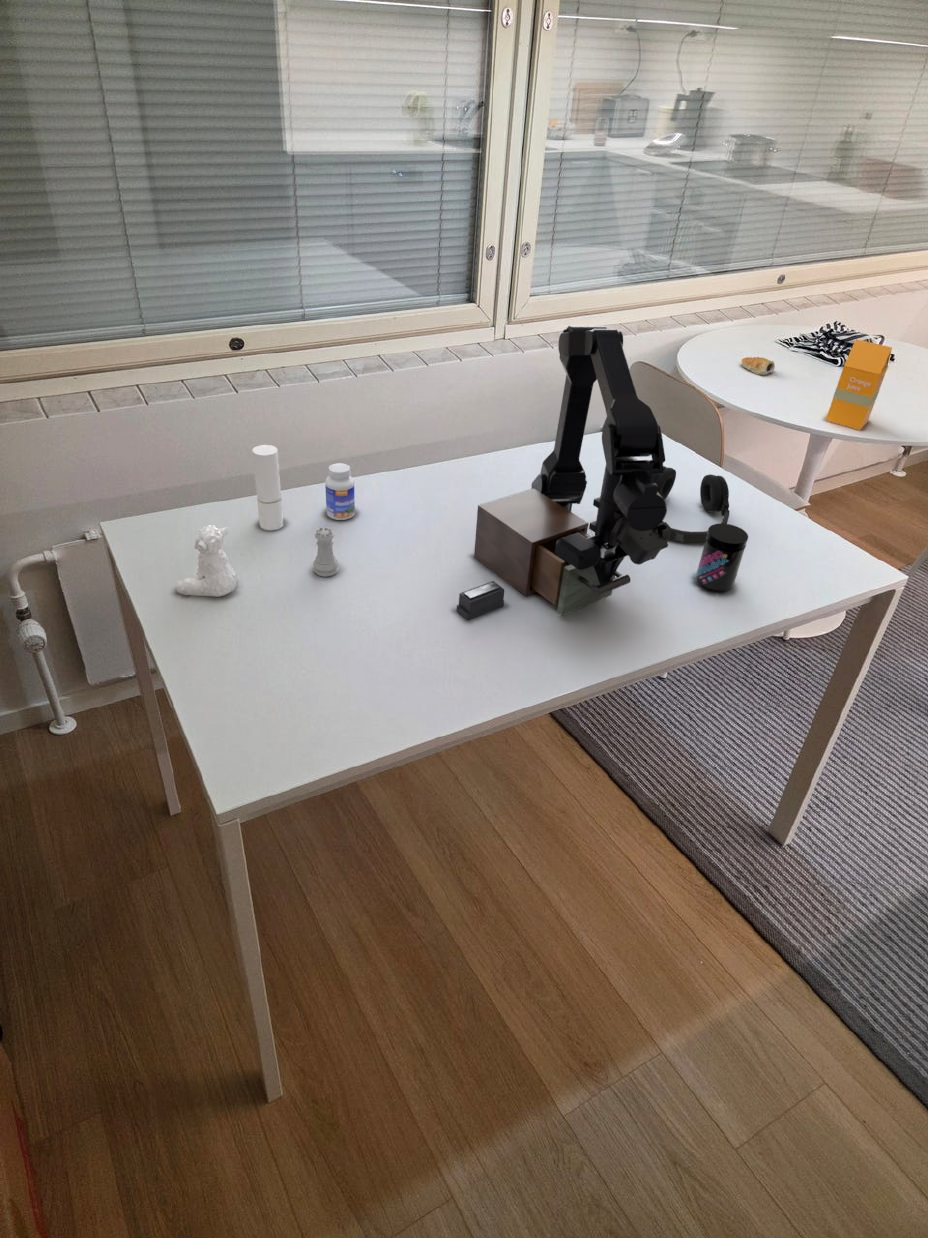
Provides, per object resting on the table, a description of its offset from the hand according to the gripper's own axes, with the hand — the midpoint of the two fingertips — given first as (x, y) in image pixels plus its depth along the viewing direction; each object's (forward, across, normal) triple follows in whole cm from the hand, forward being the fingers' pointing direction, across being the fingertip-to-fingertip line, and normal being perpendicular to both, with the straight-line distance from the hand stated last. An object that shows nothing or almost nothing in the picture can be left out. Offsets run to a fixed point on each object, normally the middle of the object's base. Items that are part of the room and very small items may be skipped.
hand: (603, 584), depth 133 cm
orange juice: (+6, +116, +28) cm, 120 cm away
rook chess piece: (+7, -31, +35) cm, 47 cm away
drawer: (+6, 0, +7) cm, 9 cm away
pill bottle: (+7, -19, +51) cm, 55 cm away
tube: (+7, -32, +54) cm, 63 cm away
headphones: (+7, +38, +15) cm, 42 cm away
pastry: (+6, +126, +64) cm, 142 cm away
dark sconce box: (+7, -15, +12) cm, 20 cm away
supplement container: (+7, +25, -4) cm, 26 cm away
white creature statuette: (+7, -49, +40) cm, 64 cm away
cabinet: (+7, 0, +18) cm, 19 cm away
